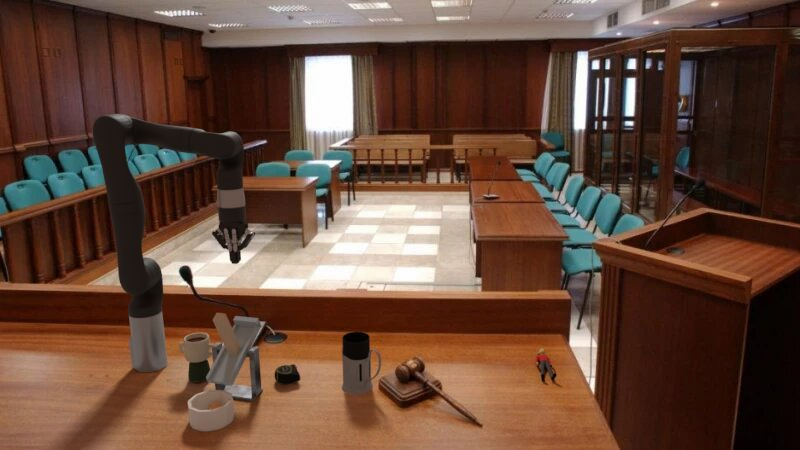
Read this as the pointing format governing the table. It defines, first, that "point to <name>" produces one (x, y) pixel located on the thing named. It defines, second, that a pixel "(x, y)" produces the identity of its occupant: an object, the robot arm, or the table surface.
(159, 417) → the table surface
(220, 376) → the tipping board
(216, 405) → the ball
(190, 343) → the character mug
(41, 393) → the table surface
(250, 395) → the stand
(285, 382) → the tape measure
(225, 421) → the cup
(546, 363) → the person figure
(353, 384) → the glass holder
